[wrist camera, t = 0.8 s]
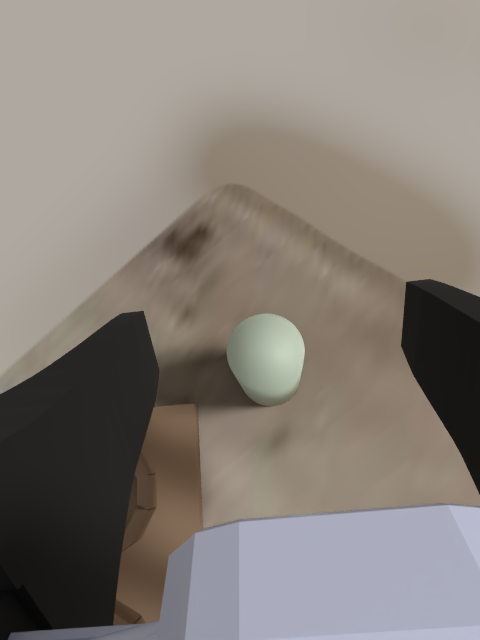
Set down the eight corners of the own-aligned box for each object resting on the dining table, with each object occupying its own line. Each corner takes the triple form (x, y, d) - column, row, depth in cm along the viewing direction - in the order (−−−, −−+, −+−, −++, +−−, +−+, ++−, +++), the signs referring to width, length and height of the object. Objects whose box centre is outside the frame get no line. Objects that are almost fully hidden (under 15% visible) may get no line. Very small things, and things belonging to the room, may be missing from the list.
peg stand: (213, 773, 22) (174, 945, 14) (-5, 779, 23) (-155, 944, 15) (197, 405, 28) (163, 384, 20) (25, 421, 29) (-70, 407, 21)
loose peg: (303, 403, 27) (309, 385, 21) (242, 409, 28) (229, 393, 21) (296, 344, 29) (299, 309, 22) (238, 350, 29) (224, 317, 22)
